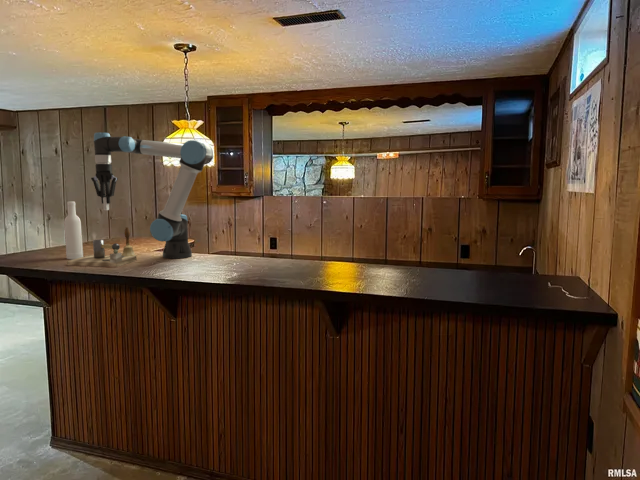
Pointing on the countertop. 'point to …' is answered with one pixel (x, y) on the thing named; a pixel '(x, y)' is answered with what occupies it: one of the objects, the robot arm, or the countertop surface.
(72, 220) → the bottle
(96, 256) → the metal mallet
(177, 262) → the countertop surface
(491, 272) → the countertop surface
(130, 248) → the hand bell
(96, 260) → the stand
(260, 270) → the countertop surface
